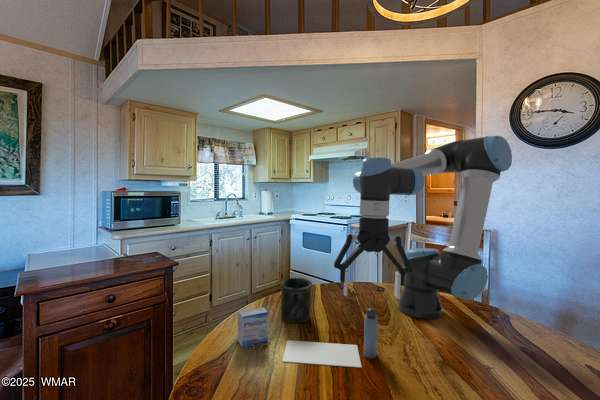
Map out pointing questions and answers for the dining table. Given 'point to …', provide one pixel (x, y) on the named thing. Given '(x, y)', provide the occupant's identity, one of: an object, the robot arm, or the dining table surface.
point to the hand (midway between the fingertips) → (371, 295)
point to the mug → (296, 300)
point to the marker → (370, 333)
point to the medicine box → (252, 326)
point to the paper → (322, 354)
